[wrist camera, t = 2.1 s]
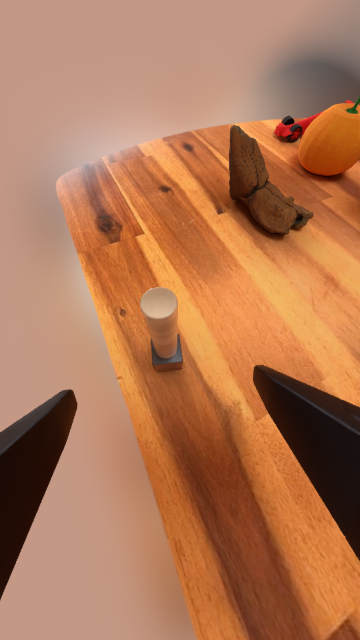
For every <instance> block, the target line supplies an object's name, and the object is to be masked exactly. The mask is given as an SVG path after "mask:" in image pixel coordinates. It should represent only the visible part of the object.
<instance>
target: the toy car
mask: <svg viewBox="0 0 360 640" xmlns="http://www.w3.org/2000/svg"><path fill="white" fill-rule="evenodd" d="M345 102H346V103H350V104H354V103H353V102H352V101H345ZM323 112H324V111H323ZM323 112H321V113H323ZM321 113H319V114H316V115H314V116H312V117H309V118H306V119H304V120H302V121H299V122H297V123H294V119H293V118H292V117H290V116H287V117H285V118H284V119H283V120H282V122H281V123H279V125H278V126H277V127H276V129H275V132H274V133H275V134H276V136H277V137H280V136H283V137H287V139H288V140H289V141H290V142H295V141H297V140H298V139H299V137H300V136H301V135H304V133H305V131H306V129H307V128H308V126H309V125H310V124H311V123H312V122H313V120H314V119H316V118H317V117H318V116H319V115H320V114H321Z"/></svg>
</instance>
